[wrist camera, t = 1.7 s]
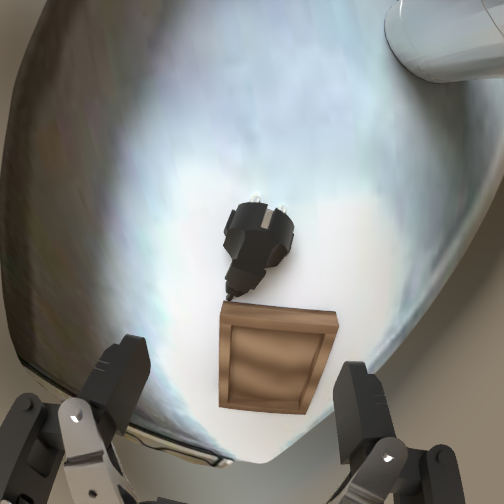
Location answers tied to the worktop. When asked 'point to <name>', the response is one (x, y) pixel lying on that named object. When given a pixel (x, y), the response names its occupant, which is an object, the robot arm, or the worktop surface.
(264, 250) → the power plug
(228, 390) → the brown tray
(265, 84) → the worktop surface
